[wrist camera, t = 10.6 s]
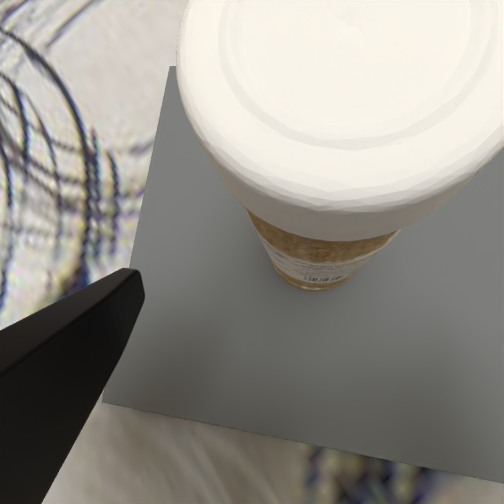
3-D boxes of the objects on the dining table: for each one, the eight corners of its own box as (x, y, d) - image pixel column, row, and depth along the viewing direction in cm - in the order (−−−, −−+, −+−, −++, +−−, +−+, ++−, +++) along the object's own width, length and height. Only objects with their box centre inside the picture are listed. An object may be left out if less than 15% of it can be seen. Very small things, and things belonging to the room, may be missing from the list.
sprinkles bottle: (360, 198, 17) (539, -168, 4) (365, 293, 17) (607, 196, 4) (266, 201, 18) (172, -109, 5) (266, 294, 17) (155, 214, 4)
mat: (504, 479, 15) (511, 484, 15) (107, 399, 18) (101, 402, 17) (517, 88, 18) (523, 81, 17) (172, 71, 21) (169, 66, 20)
